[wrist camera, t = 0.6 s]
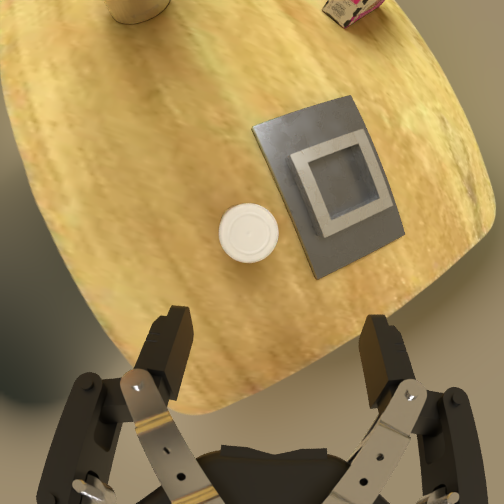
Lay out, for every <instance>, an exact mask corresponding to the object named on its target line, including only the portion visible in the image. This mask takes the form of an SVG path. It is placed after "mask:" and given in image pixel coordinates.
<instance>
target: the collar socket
mask: <svg viewBox="0 0 504 504" xmlns="http://www.w3.org/2000/svg"><path fill="white" fill-rule="evenodd" d="M252 131H253V134H254V136H255V138H256V140H257V142H258V144H259V147H260V149H261V151H262V153H263V155H264V158H265V160H266V162H267V164H268V167H269V169H270V171H271V173H272V176H273V178H274V180H275V182H276V185H277V187H278V189H279V192H280V194H281V196H282V199H283V201H284V203H285V206H286V208H287V210H288V213H289V215H290V217H291V220H292V222H293V225H294V227H295V229H296V232H297V234H298V237H299V239H300V242H301V244H302V247H303V249H304V252H305V254H306V257H307V259H308V262H309V264H310V267H311V269H312V272H313V274H314V277H315V278H316V279H320V278H322V277H324V276H326V275H328V274H330V273H332V272H334V271H336V270H338V269H340V268H342V267H344V266H346V265H348V264H350V263H352V262H354V261H356V260H358V259H360V258H362V257H364V256H366V255H368V254H369V253H371V252H373V251H375V250H377V249H379V248H381V247H383V246H385V245H387V244H388V243H390V242H392V241H394V240H396V239H398V238H400V237H402V236H403V235H405V232H404V228H403V225H402V222H401V219H400V215H399V212H398V209H397V206H396V203H395V200H394V197H393V194H392V191H391V188H390V186H389V183H388V180H387V177H386V175H385V172H384V169H383V167H382V164H381V162H380V159H379V157H378V154H377V152H376V149H375V147H374V144H373V142H372V140H371V137H370V135H369V133H368V130H367V128H366V126H365V124H364V122H363V119H362V117H361V115H360V113H359V111H358V109H357V107H356V105H355V103H354V101H353V98H352V96H351V95H349V96H345V97H341V98H338V99H334V100H331V101H327V102H324V103H320V104H317V105H314V106H311V107H307V108H304V109H301V110H298V111H295V112H292V113H289V114H286V115H283V116H280V117H277V118H275V119H272V120H269V121H266V122H264V123H261V124H258V125H255V126H253V127H252Z"/></svg>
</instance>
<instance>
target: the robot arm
mask: <svg viewBox="0 0 504 504" xmlns="http://www.w3.org/2000/svg"><path fill="white" fill-rule="evenodd" d="M169 1H170V0H104V2H105V4H106V6H107V8H108V10H109V11H110V13H111V15H112V17H113V18H114V19H115V20H116V21H118V22H120V23H123V24H134V23H139V22H143V21H146V20H149V19H151V18H153V17H155V16H156V15H157V14H159V13H160V12H161V11H163V10H164V9H165V8H166V6H167V5H168V3H169ZM193 335H194V332H193V325H192V320H191V315H190V310H189V307H185V306H174V305H172V306H171V308H170V310H169V312H168V315H167V316H159V317H158V318H157V319H156V320H155V321H154V322H153V324H152V326H151V328H150V331H149V334H148V335H147V338H146V341H145V343H144V345H143V347H142V350H141V352H140V355H139V357H138V360H137V362H136V365H135V367H134V369H133V370H130V371H128V372H126V373H125V374H124V375H123V377H121V378H115V379H104V380H102V379H101V378H100V377H99V375H97V374H96V373H92V372H87V373H84V374H82V375H80V376H79V377H78V378H77V379H76V381H75V382H74V385H73V387H72V390H71V392H70V395H69V397H68V400H67V402H66V405H65V407H64V410H63V413H62V415H61V418H60V421H59V424H58V426H57V429H56V432H55V435H54V438H53V441H52V444H51V447H50V450H49V453H48V456H47V459H46V463H45V466H44V469H43V473H42V477H41V480H40V483H39V487H38V491H37V496H36V500H37V504H116V494H115V492H114V490H113V488H112V487H111V486H109V485H108V480H109V475H110V471H111V467H112V462H113V458H114V454H115V450H116V446H117V442H118V438H119V434H120V431H121V427H122V423H123V422H134V423H135V426H136V428H135V430H136V433H137V436H138V438H139V440H140V442H141V445H142V447H143V449H144V451H145V453H146V456H147V458H148V460H149V462H150V464H151V466H152V468H153V470H154V472H155V474H156V476H157V477H158V479H159V481H160V483H161V486H160V487H158V488H157V489H156V490H154V491H153V492H152V493H150V494H149V495H147V496H146V497H145V498H143V499H142V500H140V501H139V502H137V503H136V504H390V503H389V502H387V501H386V500H385V499H384V498H383V497H382V496H381V495H380V494H379V493H380V492H381V490H382V489H383V487H384V486H385V484H386V482H387V481H388V479H389V478H390V476H391V474H392V473H393V471H394V469H395V468H396V466H397V464H398V462H399V461H400V459H401V457H402V455H403V453H404V451H405V450H406V448H407V446H408V444H409V442H410V437H409V436H410V433H414V434H417V439H418V448H419V456H420V466H421V476H422V490H423V497H422V498H420V499H419V500H418V502H417V503H416V504H488V496H487V487H486V479H485V473H484V466H483V459H482V454H481V449H480V444H479V439H478V434H477V430H476V426H475V422H474V417H473V414H472V410H471V406H470V403H469V399H468V396H467V394H466V393H465V392H464V391H463V390H462V389H460V388H457V387H451V388H449V389H447V390H446V391H445V393H439V392H433V391H429V390H426V388H425V387H424V385H423V384H422V383H421V382H419V381H417V380H416V379H415V376H414V373H413V369H412V366H411V363H410V360H409V357H408V354H407V352H406V348H405V345H404V342H403V339H402V336H401V333H400V332H399V331H398V330H397V329H396V327H395V326H389V325H388V323H387V319H386V317H385V315H368V316H367V318H366V321H365V324H364V327H363V329H362V332H361V335H360V338H359V352H360V356H361V362H362V366H363V372H364V377H365V383H366V388H367V394H368V400H369V406H370V409H373V408H378V412H379V414H378V415H377V417H376V419H375V420H374V422H373V423H372V425H371V427H370V428H369V430H368V431H367V433H366V434H365V436H364V437H363V439H362V440H361V442H360V443H359V445H358V446H357V447H356V449H355V450H354V451H353V453H352V454H351V455H350V456H349V458H348V459H347V460H346V461H345V460H343V459H341V458H339V457H336V456H333V455H329V454H327V448H323V449H299V450H295V451H291V452H286V453H281V454H276V455H273V454H269V453H265V452H261V451H258V450H255V449H251V448H248V447H237V446H226V445H221V450H219V451H213V452H210V453H206V454H204V455H201V456H199V457H198V458H196V459H195V457H194V456H193V454H192V452H191V451H190V449H189V448H188V446H187V444H186V442H185V440H184V439H183V437H182V435H181V433H180V432H179V430H178V428H177V426H176V424H175V422H174V421H173V419H172V417H171V415H170V413H169V411H168V409H167V405H168V401H169V400H175V401H177V397H178V393H179V389H180V386H181V382H182V378H183V375H184V371H185V368H186V364H187V360H188V357H189V353H190V350H191V346H192V343H193Z"/></svg>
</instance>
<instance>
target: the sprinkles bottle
mask: <svg viewBox="0 0 504 504" xmlns="http://www.w3.org/2000/svg"><path fill="white" fill-rule="evenodd" d="M278 235H279V231H278V225H277V222H276V220H275V218H274V216H273V215H272V214H271V213H270V212H269V211H268V210H267V209H266V208H264V207H262V206H260V205H257V204H252V203H244V204H239V205H234V206H231V207H230V208H228V209H227V210H226V211H225V212H224V213H223V215H222V217H221V222H220V226H219V240H220V243H221V246H222V248H223V249H224V251H225V252H226V253H227V254H228V255H229V256H230V257H231V258H233V259H234V260H236V261H239V262H243V263H254V262H258V261H261V260H263V259H264V258H266V257H267V256H268V255H270V253H271V252H272V251H273V250H274V248H275V246H276V244H277V241H278Z"/></svg>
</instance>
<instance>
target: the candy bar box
mask: <svg viewBox="0 0 504 504" xmlns="http://www.w3.org/2000/svg"><path fill="white" fill-rule="evenodd" d="M384 1H385V0H328V1H327V2H326V4H325V6H324V7H323V9H322V11H324V12H325V13H326V14H327V15H329V16H330V17H331V18H332V19H333V20H334V21H336V22H337V23H338V24H339V25H340V26H342V27H343V28H347V27H348V26H350V25H351V24H352V23H354V22H355V21H357V20H358V19H360V18H362V17H363V16H365V15H366V14H368V13H369V12H371V11H373V10H374V9H376V8H378V7H379V6H380V5H381V4H382V3H383V2H384Z"/></svg>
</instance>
